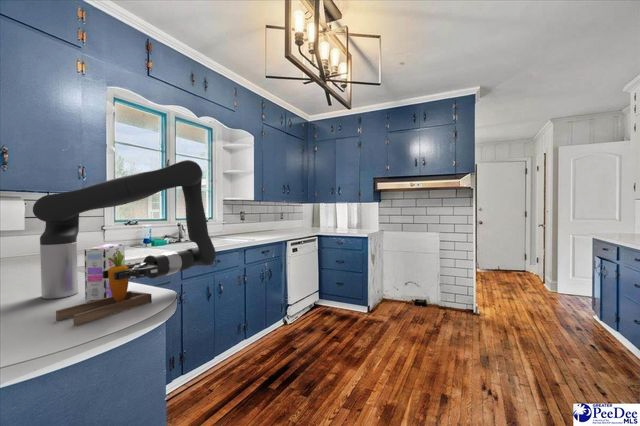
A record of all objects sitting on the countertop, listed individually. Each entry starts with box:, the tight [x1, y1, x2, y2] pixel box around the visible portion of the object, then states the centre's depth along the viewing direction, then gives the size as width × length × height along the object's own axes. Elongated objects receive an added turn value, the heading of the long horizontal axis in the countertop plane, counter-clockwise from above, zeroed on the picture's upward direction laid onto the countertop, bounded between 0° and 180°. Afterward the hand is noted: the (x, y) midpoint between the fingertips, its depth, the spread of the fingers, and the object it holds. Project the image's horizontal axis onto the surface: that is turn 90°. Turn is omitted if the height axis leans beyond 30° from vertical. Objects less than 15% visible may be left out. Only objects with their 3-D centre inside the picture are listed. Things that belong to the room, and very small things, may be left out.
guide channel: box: [55, 290, 153, 327], centre depth 86 cm, size 9×20×3 cm, turn 155°
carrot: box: [108, 253, 130, 303], centre depth 89 cm, size 5×5×15 cm
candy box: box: [84, 243, 126, 303], centre depth 101 cm, size 14×6×16 cm, turn 9°
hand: (109, 275), depth 86 cm, fingers closed on carrot, 4 cm apart
